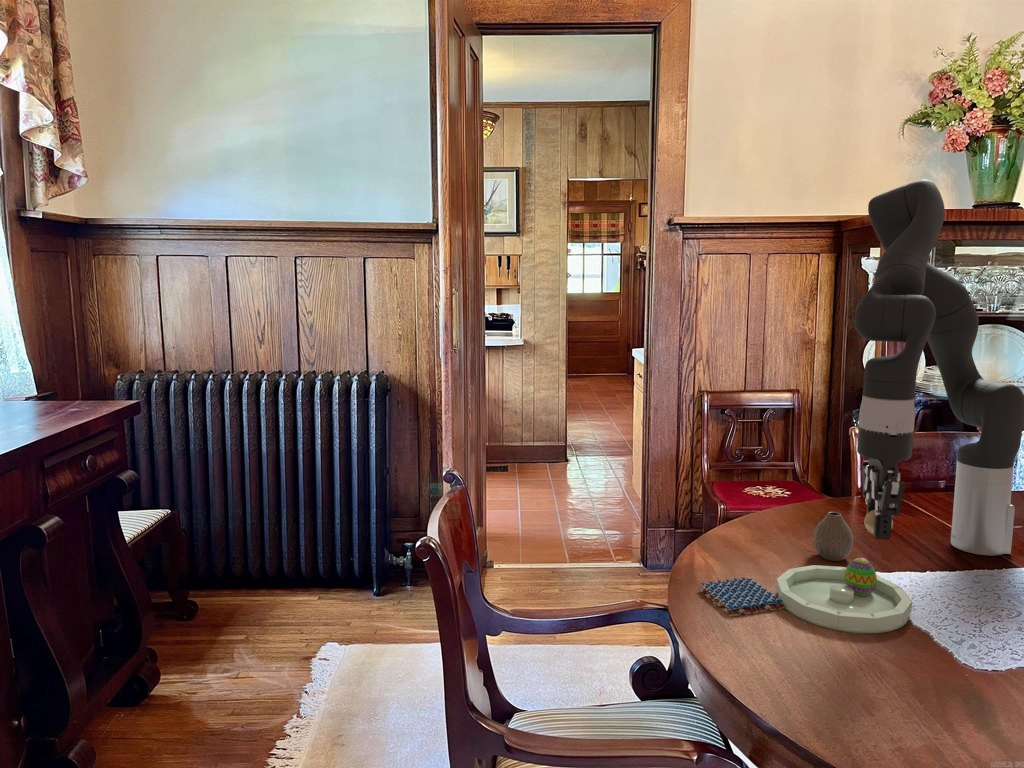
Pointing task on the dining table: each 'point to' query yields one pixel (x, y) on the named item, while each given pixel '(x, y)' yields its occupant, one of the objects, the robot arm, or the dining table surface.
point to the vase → (833, 538)
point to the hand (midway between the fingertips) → (877, 533)
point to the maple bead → (871, 521)
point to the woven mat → (741, 596)
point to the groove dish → (837, 616)
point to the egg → (861, 577)
